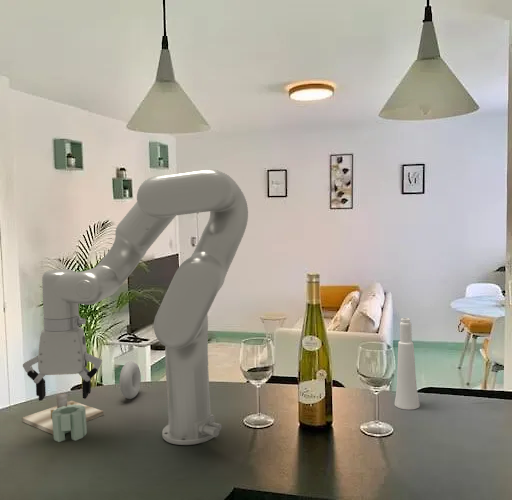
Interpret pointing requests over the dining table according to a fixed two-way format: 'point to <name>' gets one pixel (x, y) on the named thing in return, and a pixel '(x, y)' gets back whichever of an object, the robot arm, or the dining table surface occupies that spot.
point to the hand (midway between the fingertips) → (64, 397)
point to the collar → (69, 422)
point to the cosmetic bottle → (406, 370)
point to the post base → (45, 417)
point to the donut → (130, 380)
